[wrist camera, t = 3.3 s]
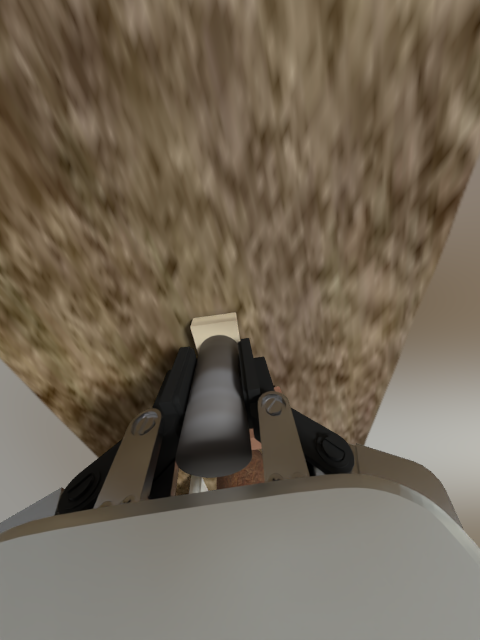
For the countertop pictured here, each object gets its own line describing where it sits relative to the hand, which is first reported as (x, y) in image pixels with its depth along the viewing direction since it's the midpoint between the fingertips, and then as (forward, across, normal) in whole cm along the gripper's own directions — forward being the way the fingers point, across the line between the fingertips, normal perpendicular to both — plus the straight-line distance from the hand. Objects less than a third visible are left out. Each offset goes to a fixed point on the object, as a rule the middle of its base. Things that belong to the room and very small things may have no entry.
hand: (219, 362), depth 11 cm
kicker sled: (+2, 0, +3) cm, 3 cm away
